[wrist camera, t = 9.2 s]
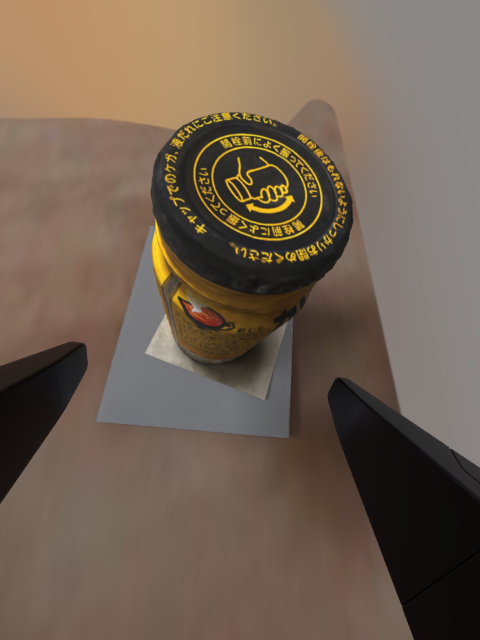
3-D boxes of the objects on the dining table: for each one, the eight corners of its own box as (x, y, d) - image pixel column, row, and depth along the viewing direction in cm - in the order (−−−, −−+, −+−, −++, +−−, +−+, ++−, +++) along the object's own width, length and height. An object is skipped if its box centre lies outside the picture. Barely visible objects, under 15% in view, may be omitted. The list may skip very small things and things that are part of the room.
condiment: (190, 265, 18) (191, 45, 6) (291, 308, 18) (450, 176, 7) (145, 354, 15) (15, 247, 4) (263, 400, 16) (440, 422, 5)
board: (284, 436, 16) (288, 438, 15) (100, 419, 14) (95, 421, 14) (291, 262, 21) (295, 257, 20) (151, 232, 19) (150, 225, 18)
